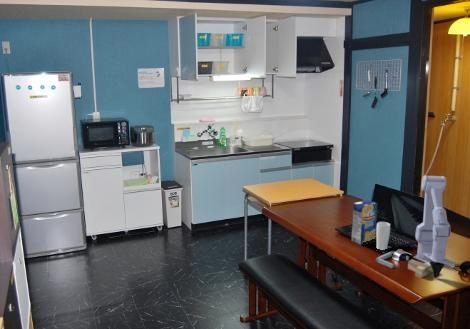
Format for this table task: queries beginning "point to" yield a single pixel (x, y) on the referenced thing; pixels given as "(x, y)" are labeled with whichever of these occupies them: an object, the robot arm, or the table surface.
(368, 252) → the table surface
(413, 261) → the t block
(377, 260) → the bracket
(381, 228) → the drinking glass
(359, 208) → the beverage box
